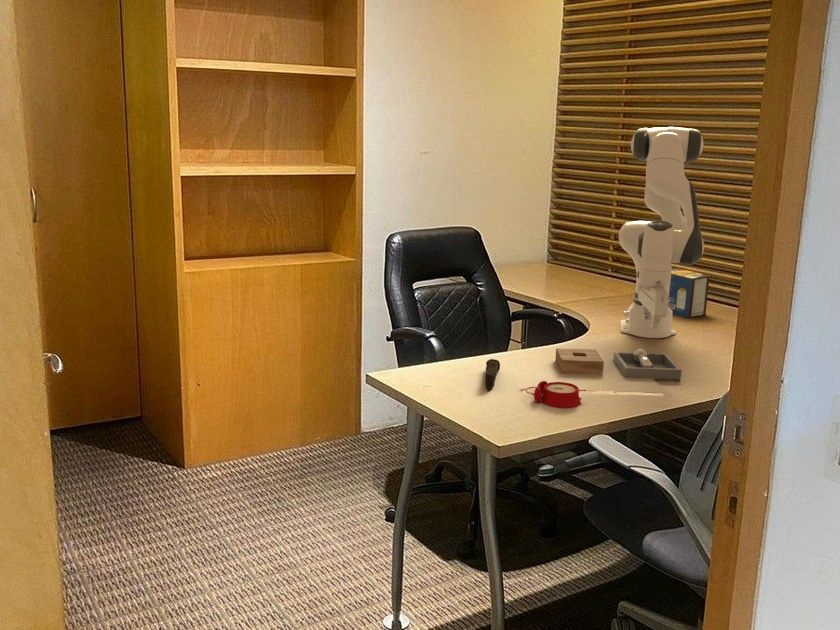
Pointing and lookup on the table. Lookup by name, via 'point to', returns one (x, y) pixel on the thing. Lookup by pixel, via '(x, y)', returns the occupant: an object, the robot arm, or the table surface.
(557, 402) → the alarm clock
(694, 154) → the robot arm
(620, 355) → the tray
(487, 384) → the hand tool
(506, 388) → the table surface
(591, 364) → the block
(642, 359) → the pin
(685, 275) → the protein box
